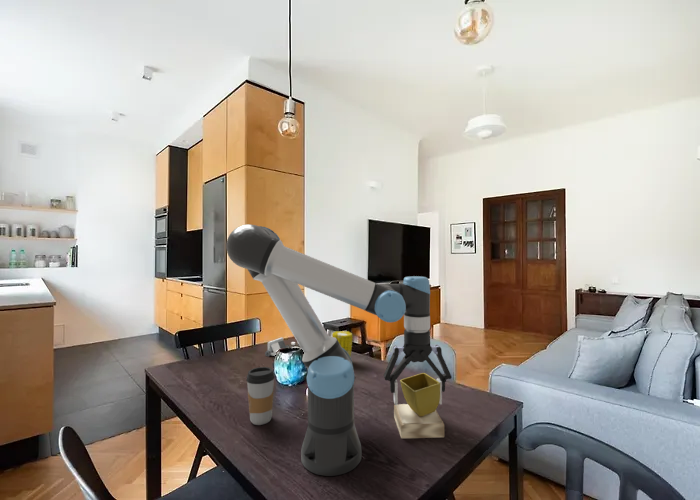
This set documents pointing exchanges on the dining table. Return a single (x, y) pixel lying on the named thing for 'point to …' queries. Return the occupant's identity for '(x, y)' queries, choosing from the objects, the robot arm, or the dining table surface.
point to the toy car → (276, 346)
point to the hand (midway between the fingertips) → (417, 402)
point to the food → (344, 340)
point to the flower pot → (421, 393)
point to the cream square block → (417, 423)
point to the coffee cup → (260, 394)
